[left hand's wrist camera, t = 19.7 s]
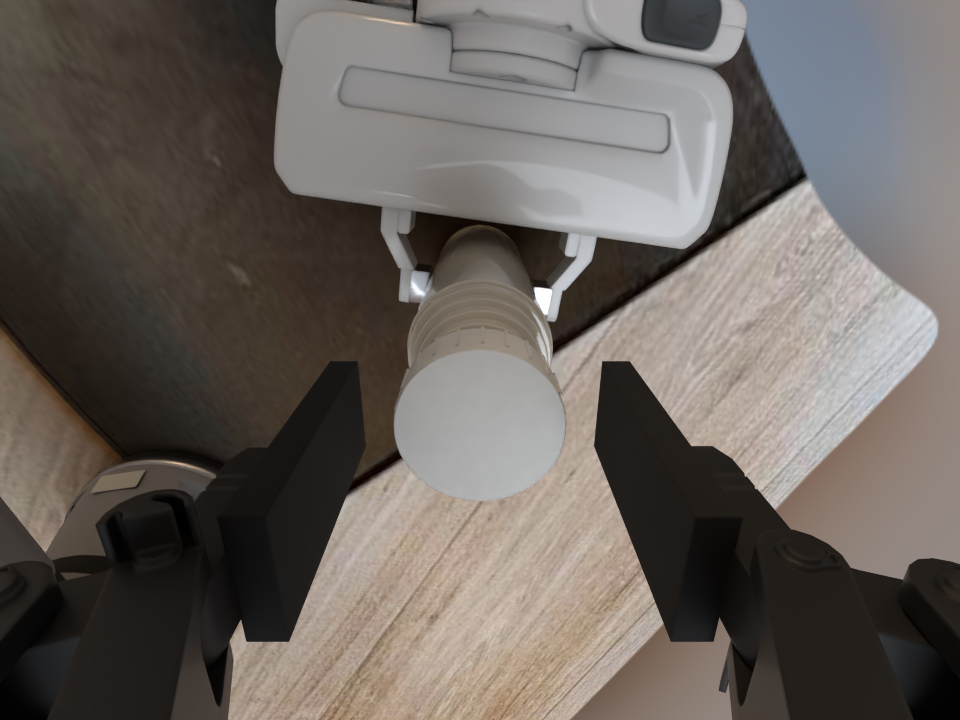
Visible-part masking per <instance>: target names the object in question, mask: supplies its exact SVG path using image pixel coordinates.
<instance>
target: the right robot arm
mask: <svg viewBox="0 0 960 720" xmlns="http://www.w3.org/2000/svg"><path fill="white" fill-rule="evenodd" d="M356 1H359V2H356ZM360 1H361V2H360ZM415 8H416V23H415V13H414V12H415ZM746 24H747V10H746V7H745V5H744V4H743V3H742V1H741V0H355V1H353V0H352V1H350V0H277V3H276V49H277V55H278V59H279V61H280V64H281V66H282V68H283V69H282V75H281V82H280V88H279V96H278V104H277V113H276V125H275V140H274V166H275V170H276V172H277V174H278V175H279V176H280V178H281V179H282V181H283V182H284V184H285V185H286V187H287V188H288V189H289V191H290V192H292V193H294V194H298V195H305V196H312V197H319V198H326V199H333V200H340V201H347V202H354V203H361V204H368V205H375V206H382V217H381V233H382V235H383V237H384V239H385V241H386V243H387V245H388V247H389V249H390V251H391V253H392V255H393V258H394V260H395V262H396V264H397V266H398V268H401V275H400V288H399V301H402V302H407V303H409V302H410V303H418V304H420V302H421V300H422V297H423V295H424V292H425V290H426V287H427V285H428V282H429V280H430V277H431V275H432V272H433V266H431V265H425V264H419V263H418V261H417V259H416V257H415V254H414V252H413V250H412V247H411V245H410V243H409V240H408V238H407V236H406V234H408V233H409V232H410V231H411V230H412V229H413V228H414V227H415V218H416V211H417V212H424V213H432V214H439V215H446V216H453V217H460V218H467V219H474V220H481V221H488V222H495V223H502V224H509V225H516V226H523V227H530V228H537V229H544V230H551V231H558V232H561V236H560V242H559V248H560V249H561V251H562V252H563V253H564V254H565V257H564V258H563V259H562V260H561V262H560V263H559V264H558V265H557V267H556V268H555V269H554V270H553V272H552V273H551V274H550V275H549V277H548V278H547V279H546V281H543V280H534V279H531V283H532V285H533V287H534V290H535V292H536V295H537V297H538V300H539V302H540V305H541V307H542V310H543V312H544V315H545V317H546V320H547V321H552V322H555V321H556V318H557V315H558V310H559V305H560V300H561V295H562V291H563V290H564V291H565V290H566V289H567V288H568V287H569V286H570V284H571V283H572V282H573V281H574V280H575V279H576V278H577V277H578V275H579V274H580V273H581V272H582V271H583V270H584V269H585V268H586V266H587V265H588V264H589V263H590V262H591V261H592V257H593V252H594V248H595V244H596V239H597V237H601V238H608V239H615V240H622V241H629V242H636V243H643V244H650V245H657V246H664V247H671V248H679V249H684V248H687V247H688V246H689V245H691V244H692V243H693V242H694V241H696V240H697V239H698V238H699V237H700V236H701V235H702V234H703V233H705V231H706V230H707V229H708V227H709V225H710V222H711V219H712V216H713V213H714V210H715V206H716V203H717V199H718V195H719V192H720V188H721V183H722V179H723V175H724V170H725V165H726V160H727V155H728V150H729V144H730V138H731V131H732V124H733V103H732V97H731V93H730V90H729V88H728V86H727V84H726V82H725V81H724V79H723V78H722V77H721V76H720V75H719V74H718V73H717V72H715V71H714V70H712V69H713V68H716V67H718V66H719V65H721V64H723V63H725V62H726V61H728V60H729V59H731V58H732V57H733V56H734V55H735V54H736V52H737V50H738V48H739V46H740V44H741V41H742V39H743V36H744V32H745V31H744V30H745V29H746Z"/></svg>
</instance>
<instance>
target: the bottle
mask: <svg viewBox="0 0 960 720" xmlns="http://www.w3.org/2000/svg"><path fill="white" fill-rule="evenodd" d="M481 326H483V327H484V328H485V329H494V330H499V331H503V332H504V330H506V331H508V333H509V334H512V335H514V336H516V337H518V338H520V339H522V340H524V341H525V340H527V341H528V342H529V345H531V346H532V347H533V348H534V349H535V350H536V351H538V352H539V353H540V355H541V356H542V355H544V356H545V359H546V362H547V364H548V366H549V367H550V368H551V363H552V351H553V345H552V336H551V331H550V328H549V325H548V322H547V320H546V317H545V315H544V312H543V310H542V307H541V305H540V302H539V300H538V297H537V295H536V292H535V290H534V287H533V285H532V283H531V280H530V278H529V275H528V273H527V270H526V268H525V265H524V263H523V260H522V258H521V255H520V253H519V250H518V248H517V246H516V245H515V243H514V242H513V241H512V239H511V238H510V237H509V236H508V235H506V234H505V233H504V232H502V231H501V230H499V229H497V228H494V227H491V226H486V225H473V226H469V227H466V228H463V229H461V230H459V231H457V232H456V233H455V234H453V235H452V236H451V237H450V238H449V239H448V240H447V242H446V243H445V245H444V246H443V248H442V250H441V253H440V255H439V258H438V260H437V263H436V265H435V268H434V270H433V272H432V275H431V277H430V280H429V282H428V285H427V287H426V290H425V292H424V295H423V297H422V300H421V302H420V304H419V307H418V309H417V312H416V314H415V317H414V319H413V322H412V324H411V327H410V331H409V334H408V341H407V354H408V364H409V369H410V367H411V365H412V363H413V362H414V361H415V359H416V358H417V354H418V352H419V351H421V352H422V351H423V350H424V349H425V348H426V347H428V346H429V345H430V344H432V343H433V342H434V341H435V339H436V338H437V337H438V338H439V339H440V338H441V337H443V336H446V335H448V334H451V333H453V332H457V329H460V330H466V329H473V328H481Z"/></svg>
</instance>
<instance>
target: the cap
mask: <svg viewBox="0 0 960 720" xmlns="http://www.w3.org/2000/svg"><path fill="white" fill-rule="evenodd" d="M560 394H562V393H561V390H560V387H559V384H558V381H557V378H556V375H555V373H552V371H551V369H550V367H549V366H548V364H547V362H546V359H545V356H544V355H542V356H541V355H540V353H539V352H538V351H536V350H535V349H534V348H533V347H532V346H531V345H529V342H528V341H527V340H525V341H524V340H522V339H520V338H518V337H516V336H514V335H512V334H509V333H508V331H506V330H504V332H503V331H499V330H494V329H485V328H484V327H483V326H481V328H473V329H466V330H460V329H457V332H453V333H451V334H448V335H446V336H443V337H441V338H440V339H439V338H438V337H437V338H436V339H435V341H434V342H433V343H432V344H430V345H429V346H428V347H426V348H425V349H424V350H423V351H422V352H421V351H419V352H418V354H417V358H416V359H415V361H414V362H413V363H412V365H411V367H410V369H407V370H406V372H405V375H404V378H403V381H402V384H401V387H400V392H399V395H398V398H397V401H396V404H395V407H394V411H395V414H394V436H395V440H396V444H397V447H398V450H399V452H400V454H401V456H402V458H403V460H404V462H405V463H406V465H407V466H408V467H409V469H410V470H411V471H412V472H413V473H414V474H415V475H416V476H417V477H418V478H419V479H420V480H421V481H423V482H424V483H425V484H426V485H428V486H430V487H431V488H433V489H435V490H437V491H439V492H441V493H443V494H446V495H449V496H452V497H455V498H459V499H464V500H473V501H487V500H495V499H500V498H505V497H508V496H511V495H514V494H517V493H519V492H521V491H523V490H525V489H527V488H528V487H530V486H532V485H533V484H535V483H536V482H537V481H538V480H540V479H541V478H542V477H543V476H544V475H545V474H546V473H547V472H548V471H549V470H550V468H551V467H552V466H553V464H554V463H555V461H556V459H557V458H558V456H559V454H560V452H561V449H562V446H563V443H564V439H565V434H566V416H565V415H566V411H565V408H564V405H563V402H562V399H561V396H560Z"/></svg>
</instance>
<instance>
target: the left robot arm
mask: <svg viewBox="0 0 960 720" xmlns="http://www.w3.org/2000/svg"><path fill="white" fill-rule="evenodd" d="M365 447H366V442H365V432H364V422H363V411H362V401H361V391H360V381H359V370H358V361H330V363H329V364H328V365H327V367H326V368H325V370H324V371H323V372H322V374H321V375H320V376H319V378H318V379H317V381H316V382H315V383H314V385H313V386H312V387H311V389H310V390H309V392H308V393H307V394H306V396H305V397H304V398H303V400H302V401H301V403H300V404H299V405H298V407H297V408H296V409H295V411H294V412H293V414H292V415H291V416H290V418H289V419H288V420H287V422H286V423H285V425H284V426H283V427H282V429H281V430H280V431H279V433H278V434H277V436H276V437H275V438H274V440H273V441H272V442H271V444H270V445H269V447H268V448H247V449H245V450H244V451H242V452H241V453H239V454H238V455H236V456H234V457H233V458H231V459H230V460H228V461H227V463H226V464H225V465H224V466H223V465H221V464H219V463H217V462H215V461H212V460H210V459H207V458H204V457H201V456H197V455H193V454H189V453H183V452H176V451H149V452H142V453H138V454H134V455H130V456H127V457H125V458H122V459H120V460H118V461H116V462H114V463H113V464H111V465H110V466H108V467H107V468H105V469H104V470H103V471H102V472H101V473H100V474H98V475H97V476H96V477H95V478H94V479H92V480H91V481H90V482H89V483H88V484H86V485H85V486H84V487H83V489H82V490H81V491H80V492H79V493H78V495H77V496H76V498H75V500H74V501H73V503H72V505H71V507H70V509H69V511H68V513H67V515H66V518H65V521H64V523H63V525H62V527H61V528H60V530H59V531H58V533H57V535H56V536H55V538H54V540H53V541H52V543H51V545H50V546H49V548H48V550H47V551H46V553H45V552H44V551H43V550H42V548H41V547H40V546H39V545H38V543H37V542H36V541H35V540H34V538H33V537H32V536H31V535H30V533H29V532H28V531H27V530H26V528H25V527H24V526H23V525H22V523H21V522H20V521H19V520H18V518H17V517H16V516H15V515H14V513H13V512H12V511H11V510H10V508H9V507H8V506H7V505H6V503H5V502H4V501H3V500H2V498H1V497H0V720H228V713H229V702H230V692H231V681H232V671H233V655H232V649H231V645H230V639H231V637H232V635H233V633H234V631H235V629H236V627H237V625H238V624H239V622H240V620H242V625H243V629H244V633H245V637H246V641H247V642H289V640H290V638H291V635H292V633H293V630H294V628H295V625H296V623H297V620H298V618H299V615H300V612H301V610H302V607H303V605H304V602H305V600H306V597H307V595H308V592H309V590H310V587H311V584H312V582H313V579H314V577H315V574H316V572H317V569H318V567H319V564H320V562H321V559H322V556H323V554H324V551H325V549H326V546H327V544H328V541H329V539H330V536H331V534H332V531H333V528H334V526H335V523H336V521H337V518H338V516H339V513H340V511H341V508H342V506H343V503H344V500H345V498H346V495H347V493H348V490H349V488H350V485H351V483H352V480H353V478H354V475H355V472H356V470H357V467H358V465H359V462H360V460H361V457H362V455H363V452H364V450H365ZM594 447H595V450H596V452H597V455H598V457H599V460H600V462H601V465H602V467H603V470H604V472H605V475H606V478H607V480H608V483H609V485H610V488H611V490H612V493H613V495H614V498H615V500H616V503H617V506H618V508H619V511H620V513H621V516H622V518H623V521H624V523H625V526H626V528H627V531H628V534H629V536H630V539H631V541H632V544H633V546H634V549H635V551H636V554H637V556H638V559H639V562H640V564H641V567H642V569H643V572H644V574H645V577H646V579H647V582H648V584H649V587H650V590H651V592H652V595H653V597H654V600H655V602H656V605H657V607H658V610H659V612H660V615H661V618H662V620H663V623H664V625H665V628H666V630H667V633H668V635H669V638H670V640H671V642H713V641H714V637H715V633H716V629H717V625H718V620H719V617H720V619H721V621H722V623H723V625H724V627H725V629H726V631H727V633H728V634H729V636H730V638H731V641H730V645H729V649H728V653H727V657H726V661H725V665H724V668H723V672H722V676H721V680H720V686H719V691H721V692H725V693H726V690H727V686H728V682H729V690H730V700H731V711H732V720H960V564H957V563H954V562H950V561H945V560H939V559H934V558H930V559H918V560H916V561H915V562H913V563H912V564H910V565H909V567H908V569H907V572H906V574H905V577H904V579H903V580H901V579H897V578H892V577H887V576H883V575H878V574H874V573H869V572H865V571H860V570H857V569H853V568H850V566H849V565H848V563H847V562H846V560H845V559H844V557H843V556H842V555H841V554H840V553H839V552H837V551H836V550H835V549H834V548H832V547H831V546H830V545H829V544H827V543H825V542H823V541H821V540H819V539H818V538H816V537H814V536H812V535H809V534H806V533H802V532H799V531H796V530H791V529H790V528H789V527H788V526H787V524H786V523H785V522H784V521H783V520H782V518H781V517H780V516H779V515H778V513H777V512H776V511H775V510H774V509H773V507H772V506H771V505H770V504H769V503H768V501H767V500H766V499H765V498H764V497H763V495H762V494H761V493H760V492H759V491H758V489H755V486H754V485H753V483H752V482H751V481H750V480H749V479H748V477H745V476H744V473H743V471H742V470H741V469H740V468H739V467H738V465H737V464H736V463H735V462H734V461H733V459H731V458H730V457H728V456H727V455H725V454H724V453H722V452H721V451H719V450H718V449H716V448H714V447H713V446H691V445H690V444H689V442H688V441H687V440H686V438H685V437H684V436H683V434H682V433H681V431H680V430H679V429H678V427H677V426H676V425H675V423H674V422H673V420H672V419H671V418H670V416H669V415H668V414H667V412H666V411H665V409H664V408H663V407H662V405H661V404H660V403H659V401H658V400H657V398H656V397H655V396H654V394H653V393H652V392H651V390H650V389H649V387H648V386H647V385H646V383H645V382H644V381H643V379H642V378H641V376H640V375H639V374H638V372H637V371H636V370H635V368H634V367H633V365H632V364H631V363H630V361H602V370H601V381H600V391H599V401H598V411H597V422H596V432H595V442H594Z"/></svg>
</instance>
